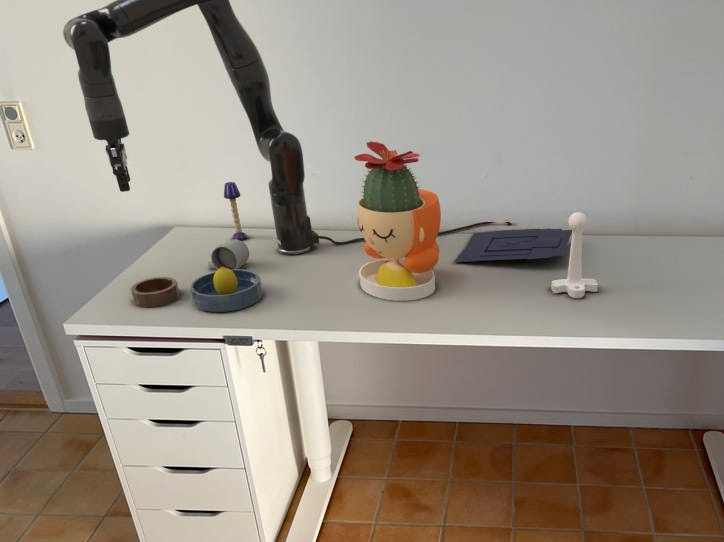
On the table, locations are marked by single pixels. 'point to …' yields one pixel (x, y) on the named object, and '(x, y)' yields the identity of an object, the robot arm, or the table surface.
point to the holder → (155, 292)
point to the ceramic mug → (229, 255)
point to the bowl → (214, 302)
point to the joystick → (575, 263)
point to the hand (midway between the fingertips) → (125, 186)
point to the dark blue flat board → (515, 244)
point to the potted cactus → (397, 228)
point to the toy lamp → (234, 208)
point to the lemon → (225, 281)
